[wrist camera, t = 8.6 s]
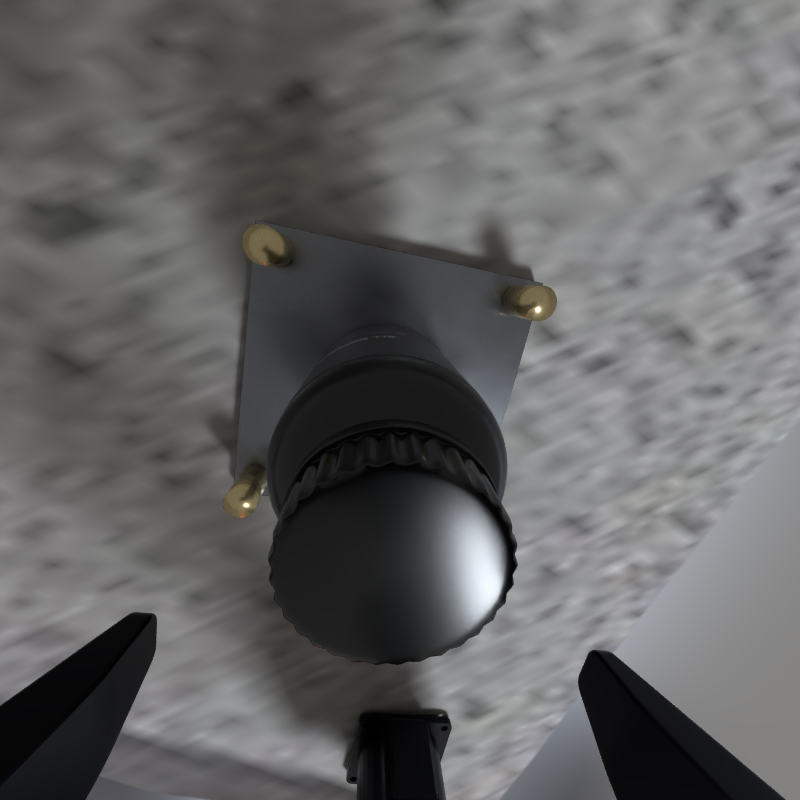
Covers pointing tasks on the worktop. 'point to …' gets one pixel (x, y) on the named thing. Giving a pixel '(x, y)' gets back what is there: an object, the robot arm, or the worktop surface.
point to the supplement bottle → (388, 502)
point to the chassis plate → (361, 307)
